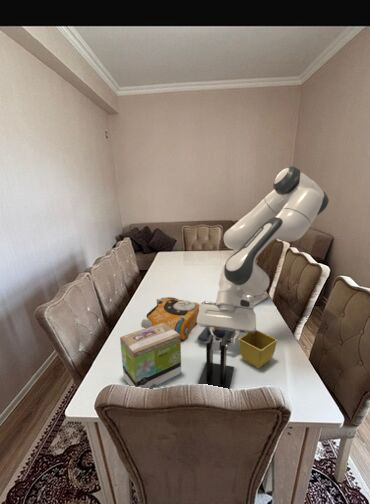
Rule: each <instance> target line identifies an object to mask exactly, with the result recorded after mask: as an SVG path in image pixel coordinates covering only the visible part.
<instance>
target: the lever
mask: <svg viewBox="0 0 370 504" xmlns="http://www.w3.org/2000/svg"><path fill="white" fill-rule="evenodd" d="M222 340H223V338H219V337H216V340H214V341H212V350H213V351H217V352H221V343H222ZM230 342H231V338H228V339H227V344H230Z"/></svg>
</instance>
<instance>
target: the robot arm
mask: <svg viewBox="0 0 370 504" xmlns="http://www.w3.org/2000/svg"><path fill="white" fill-rule="evenodd" d="M272 187H273V189H272V191H270V192H269V193H268V194H267V195H266V196H265V197H264V198H263V199H262V200H261V201H260V202H259V203H258V204H257V205H256V206H255V207H254V208H253V209H251V210H250V211H249V212H248V213H246V214H245V215H244V216H243V217H242V218H240V219H239V220H237V222H235V223H234V224H233V225H232V226H231V227H230V228H228V229H227V230H226V231H225V232H224V234H223V243H224V245H225V246H226V248H228V249H230V250H232V253H231V256H230V257H228V259H226V262H225V264H224V265H223V267H222V269H221V272H220V276H219V281H218V286H219V287H218V290H217V294H216V301H208V300H205V301H203V302H201V303H199V313H198V316H197V322H196V324H197V325H198V327H201V328H206V327H207V328H210V332H211V335H213V341H214V340H216V337H217V336H215V335H214V334H213V331H215V329H221V330H228V331H233V332H234V334H235V335H234V337H230V339H231V342H230V343H229V344H230V345H233V346H235V345H236V342H237V341H236V340H237V339H239V338H240V336H241V333H244V334H247V333H251V334H254V333H255V332H256V330H257V319H256V318H257V317H256V313H255V306H256V305H258V304H259V303H261V302H263V301H265V300H266V299H268V295H267V294H265V293H266V292H267V291H268V289H269V287H270V285H271V284H270V283H271V279H270V277H269V275H268V274H267V272H266V271H264V269H262V268H261V267H260V266H259V265H258V264H257V263H256V260H257V258H258V257H259V255H260V254H261V253H262V252H263V251H264V250H265V249H266V248H267V246H269V244H270V243H271V242H273V241H274V240H278V241H282V242H287V243H291V242H296V241H299V240H300V239H302V237H304V235H305V234H307V232H308V230H309V228H310V227H311V225H312V224H313V222H314V221H315V219H316V217H317V216H319V215H320V214H321V213H323V212H324V211H325V210H326V209H327V207H328V205H329V202H330V199H329V197H328V195H327V193H326V192H325V191H324V190H323V189H322V188H321V187H320V186H319V185H318V184H317V183H316V182H315V181H314V180H313V179H311V177H309V176H307V175H306V174H305V173H304V172H302V171H301V170H300V168H297V167H296V166H293V165H291V166H287V167H285V168H284V169H282V170H281V171H280V172H279V173H278V174H277V176H276V177H275V179H274V180H273V185H272Z"/></svg>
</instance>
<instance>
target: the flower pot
mask: <svg viewBox="0 0 370 504" xmlns="http://www.w3.org/2000/svg"><path fill="white" fill-rule="evenodd" d="M277 342H278V339H277V338H275V337H273V336H270V334H269V335H268V334H266V333H264V332H262V331H260V330H258V329H256V332H255V333H254V334H251V333H245V334H244V335H242V336H239V337H238V347H239V353H240V356H241V357H242V359H243V360H244V361H245V362H247V363H249V364H250V365H251V366H254V367H255V368H257V369H260V368H262V367H263V366H264V365H265V364H267V363H268V362H269V361H270V360H271V359H272V357H273V356H274V354H275V350H276V347H277Z"/></svg>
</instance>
